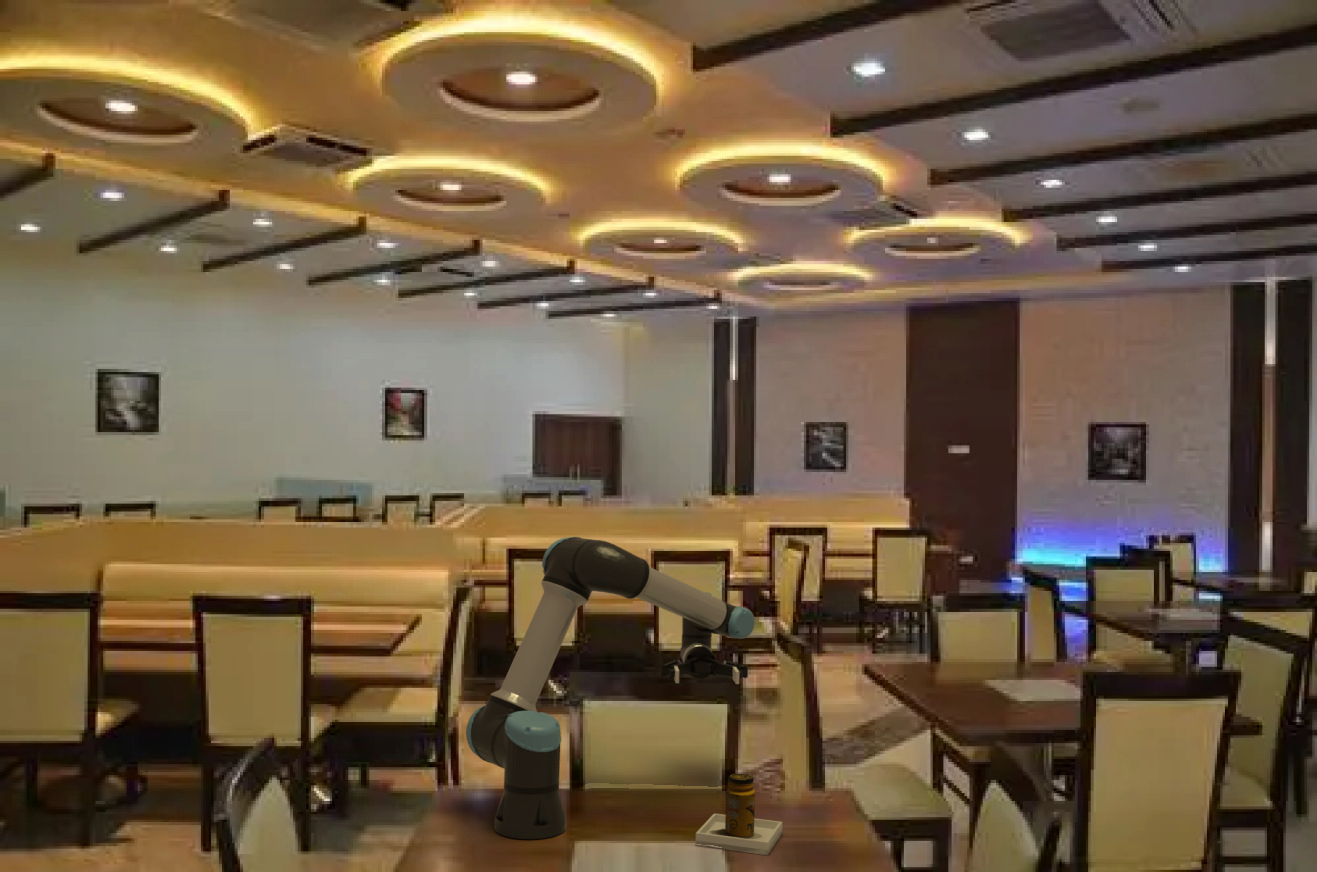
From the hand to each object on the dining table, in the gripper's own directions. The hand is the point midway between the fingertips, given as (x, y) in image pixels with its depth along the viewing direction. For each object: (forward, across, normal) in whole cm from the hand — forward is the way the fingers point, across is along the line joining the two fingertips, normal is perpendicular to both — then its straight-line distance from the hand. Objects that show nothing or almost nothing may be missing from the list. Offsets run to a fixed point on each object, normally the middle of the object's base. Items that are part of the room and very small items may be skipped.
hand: (707, 677), depth 248 cm
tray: (+18, -6, -30) cm, 36 cm away
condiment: (+18, -5, -29) cm, 35 cm away
